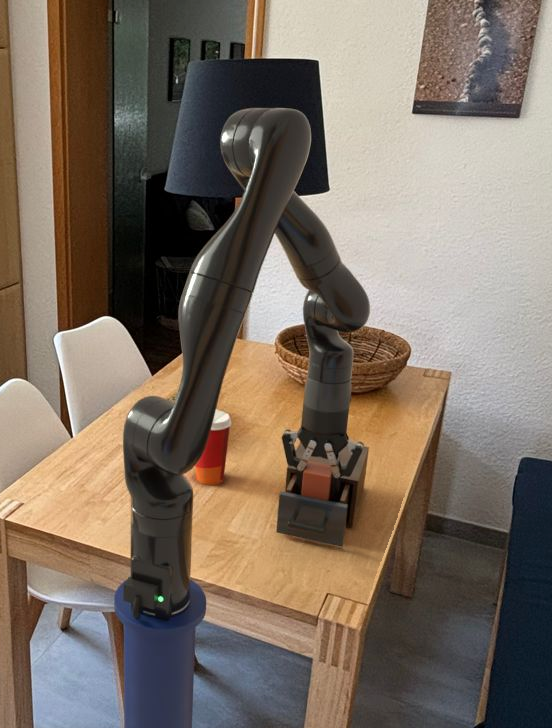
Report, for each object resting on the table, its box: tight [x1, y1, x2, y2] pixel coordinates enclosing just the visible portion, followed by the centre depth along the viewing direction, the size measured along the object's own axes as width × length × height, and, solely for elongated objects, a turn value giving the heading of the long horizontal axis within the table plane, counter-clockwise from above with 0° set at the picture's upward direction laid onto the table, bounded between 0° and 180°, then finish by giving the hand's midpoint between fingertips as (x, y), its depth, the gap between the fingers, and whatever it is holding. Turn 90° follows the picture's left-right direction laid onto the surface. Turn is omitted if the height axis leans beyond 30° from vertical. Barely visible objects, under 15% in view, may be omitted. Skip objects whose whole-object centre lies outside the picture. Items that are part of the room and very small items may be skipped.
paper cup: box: [194, 409, 233, 486], centre depth 154 cm, size 8×8×14 cm
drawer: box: [275, 473, 353, 548], centre depth 137 cm, size 18×11×8 cm, turn 156°
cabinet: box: [284, 441, 370, 528], centre depth 146 cm, size 15×13×10 cm
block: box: [301, 461, 333, 500], centre depth 135 cm, size 5×5×5 cm
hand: (317, 490), depth 136 cm, fingers closed on block, 4 cm apart
